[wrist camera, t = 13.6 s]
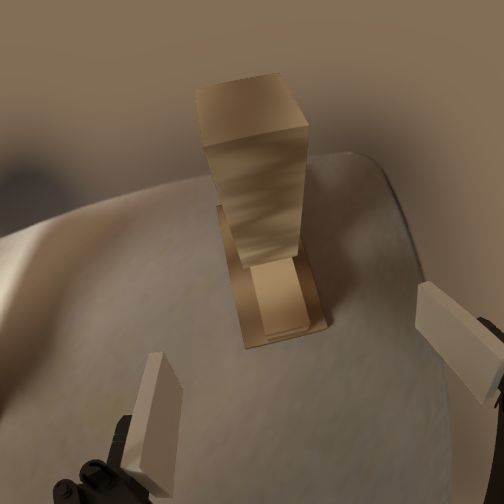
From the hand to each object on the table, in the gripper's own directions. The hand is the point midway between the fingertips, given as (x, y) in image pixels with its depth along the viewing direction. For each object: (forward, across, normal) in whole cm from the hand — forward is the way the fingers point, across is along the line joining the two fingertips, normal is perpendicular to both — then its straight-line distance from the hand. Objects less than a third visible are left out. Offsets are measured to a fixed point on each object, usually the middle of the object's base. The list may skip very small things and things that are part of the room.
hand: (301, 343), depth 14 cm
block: (+13, 0, +1) cm, 13 cm away
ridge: (+17, 0, -3) cm, 18 cm away
